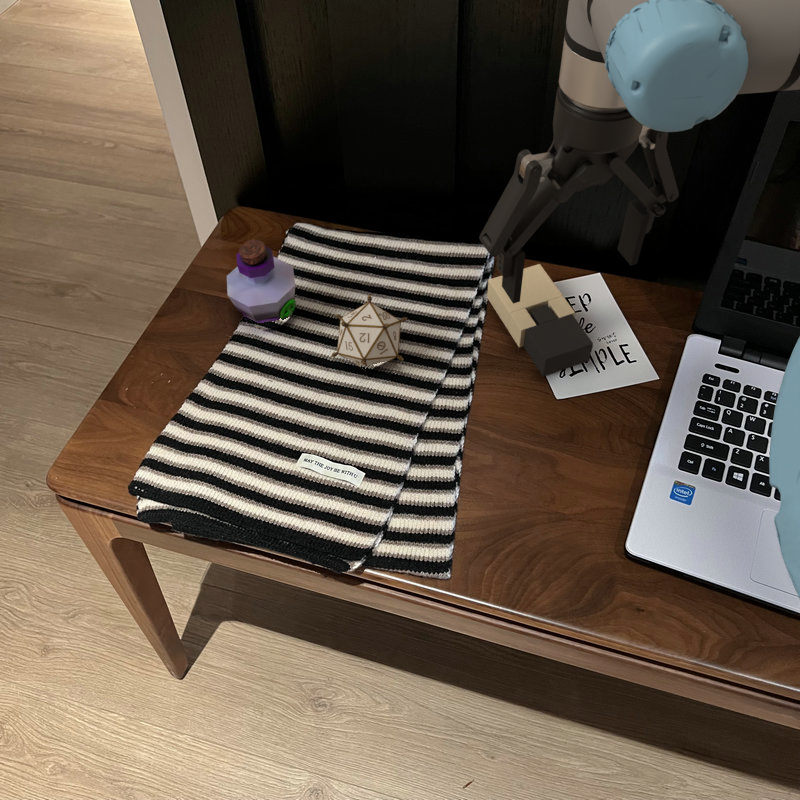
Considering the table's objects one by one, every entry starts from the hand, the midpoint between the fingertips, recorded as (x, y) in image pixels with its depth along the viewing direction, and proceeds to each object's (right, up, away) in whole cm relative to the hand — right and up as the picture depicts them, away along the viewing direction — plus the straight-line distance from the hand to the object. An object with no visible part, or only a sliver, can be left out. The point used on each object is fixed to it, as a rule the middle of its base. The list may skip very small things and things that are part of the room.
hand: (569, 275), depth 81 cm
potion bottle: (-34, -3, +17) cm, 38 cm away
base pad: (-2, -3, +15) cm, 15 cm away
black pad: (0, -7, +11) cm, 14 cm away
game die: (-21, -8, +12) cm, 26 cm away
